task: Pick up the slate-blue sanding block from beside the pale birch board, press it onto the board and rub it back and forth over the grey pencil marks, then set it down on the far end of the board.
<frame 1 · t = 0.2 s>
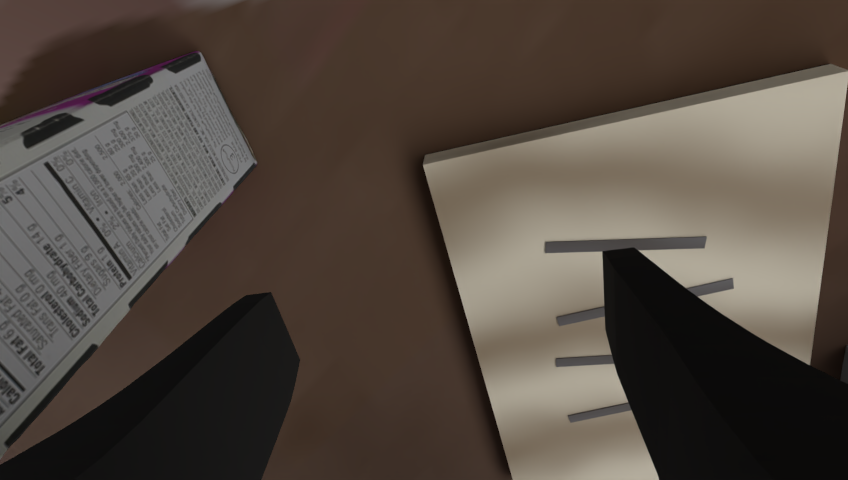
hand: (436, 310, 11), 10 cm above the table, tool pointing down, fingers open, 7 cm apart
candy bar box: (124, 148, 21), on the table
marked board: (631, 324, 23), on the table
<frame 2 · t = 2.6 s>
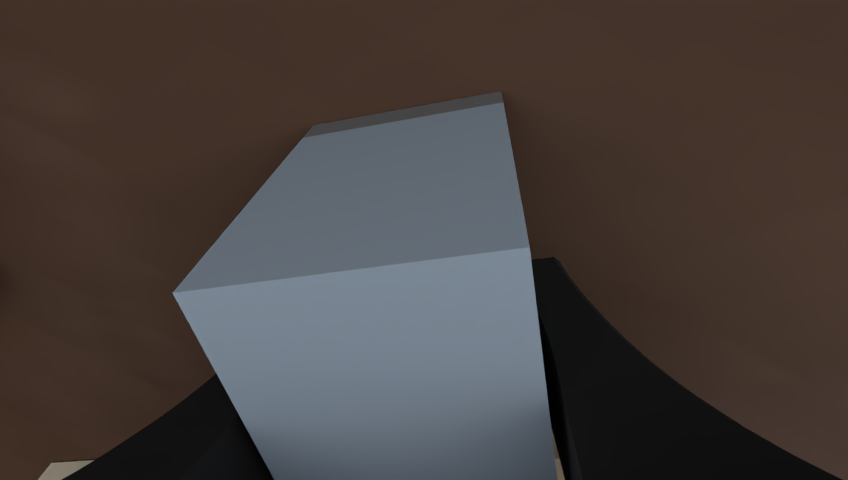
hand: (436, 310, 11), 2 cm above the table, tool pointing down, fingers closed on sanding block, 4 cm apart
sanding block: (440, 268, 13), on the table, touching gripper
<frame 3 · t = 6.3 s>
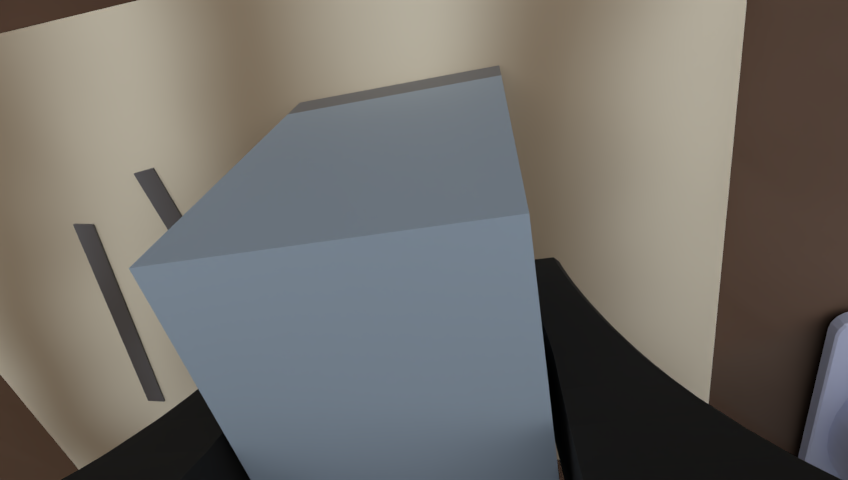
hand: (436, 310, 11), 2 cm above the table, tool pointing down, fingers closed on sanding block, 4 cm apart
sanding block: (434, 256, 12), point 1 cm above the table, touching gripper
marked board: (306, 271, 14), on the table
when the fingers open (4 cm above the table, at t = 13.6 s): sanding block drops 3 cm, resting on marked board.
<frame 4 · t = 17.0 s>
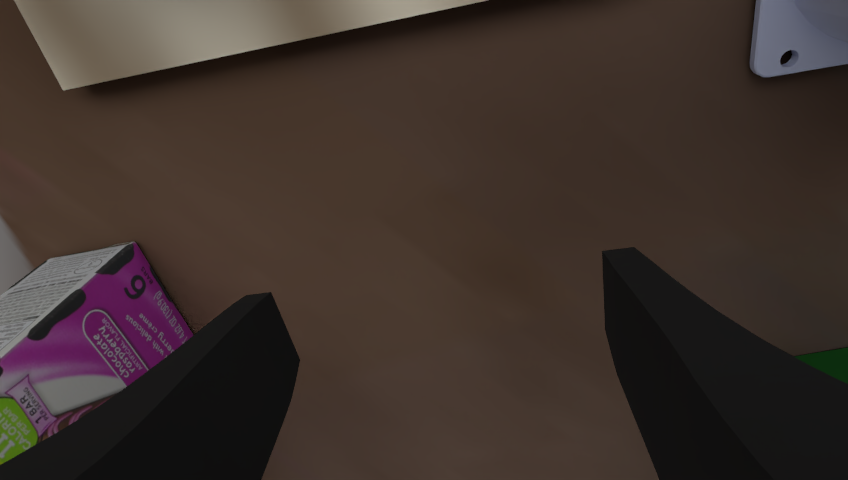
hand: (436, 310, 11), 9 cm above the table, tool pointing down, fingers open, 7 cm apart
candy bar box: (158, 334, 26), on the table
milk carton: (847, 396, 24), on the table
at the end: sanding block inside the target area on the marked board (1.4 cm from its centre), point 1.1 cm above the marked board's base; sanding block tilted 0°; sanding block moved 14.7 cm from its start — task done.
